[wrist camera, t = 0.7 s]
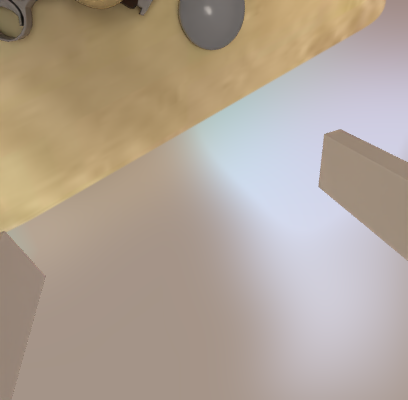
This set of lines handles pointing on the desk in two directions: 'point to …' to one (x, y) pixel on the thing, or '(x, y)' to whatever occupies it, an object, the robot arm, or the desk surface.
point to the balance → (99, 3)
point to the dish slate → (211, 21)
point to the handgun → (21, 6)
